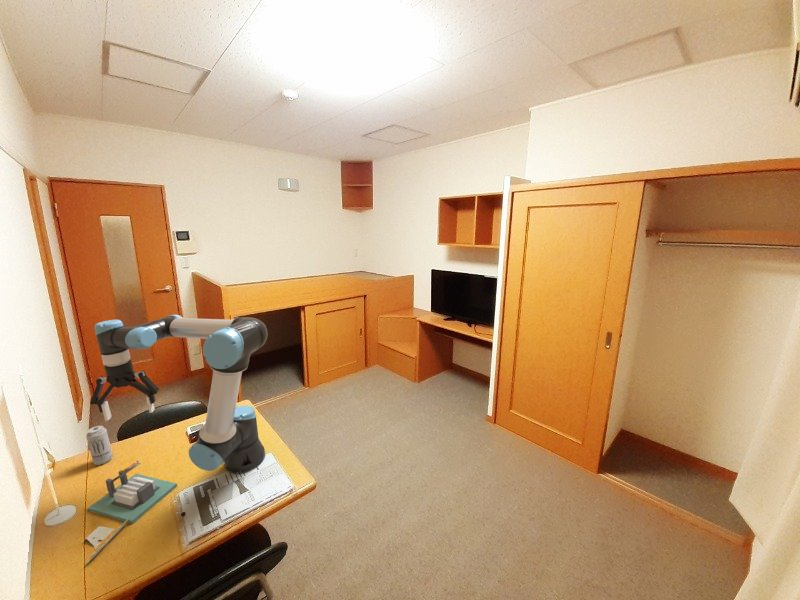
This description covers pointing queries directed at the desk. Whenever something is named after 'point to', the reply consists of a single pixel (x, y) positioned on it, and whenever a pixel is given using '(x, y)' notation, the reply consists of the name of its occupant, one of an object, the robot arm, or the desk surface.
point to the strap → (127, 470)
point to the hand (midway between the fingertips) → (130, 415)
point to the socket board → (139, 509)
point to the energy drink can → (99, 445)
